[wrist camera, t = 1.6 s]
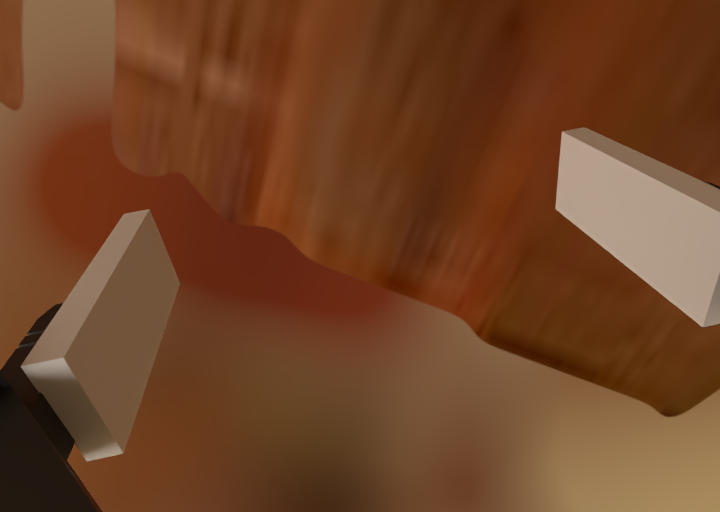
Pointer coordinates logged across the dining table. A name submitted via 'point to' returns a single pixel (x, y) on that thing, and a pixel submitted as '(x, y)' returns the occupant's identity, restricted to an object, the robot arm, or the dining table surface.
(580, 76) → the dining table surface
